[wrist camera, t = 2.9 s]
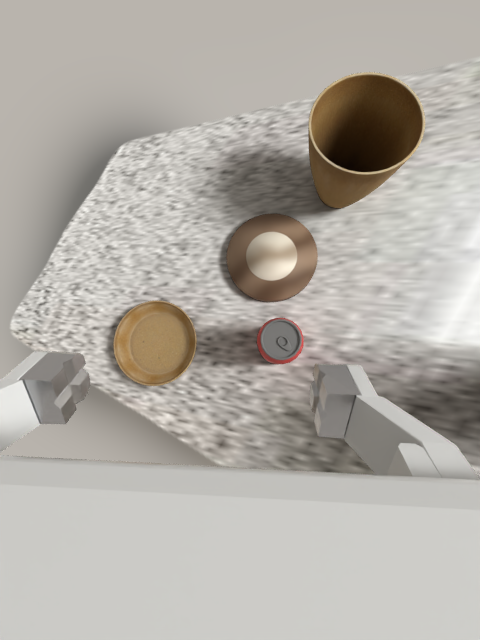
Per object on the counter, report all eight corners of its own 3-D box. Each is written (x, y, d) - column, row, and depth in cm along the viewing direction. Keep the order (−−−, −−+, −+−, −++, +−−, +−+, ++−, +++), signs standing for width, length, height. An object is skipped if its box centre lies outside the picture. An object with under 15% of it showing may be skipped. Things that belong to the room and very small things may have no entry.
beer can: (276, 372, 51) (279, 374, 39) (250, 343, 52) (246, 337, 40) (304, 346, 51) (316, 341, 39) (278, 318, 52) (282, 305, 40)
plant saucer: (211, 367, 52) (208, 367, 50) (134, 397, 53) (127, 398, 50) (184, 291, 55) (180, 288, 52) (110, 320, 55) (103, 318, 52)
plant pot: (296, 155, 56) (309, 74, 41) (377, 153, 55) (422, 69, 39) (296, 229, 54) (308, 173, 38) (380, 229, 53) (429, 171, 37)
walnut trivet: (333, 273, 52) (335, 270, 51) (255, 318, 52) (254, 317, 51) (286, 202, 55) (287, 197, 54) (212, 245, 55) (210, 241, 54)
